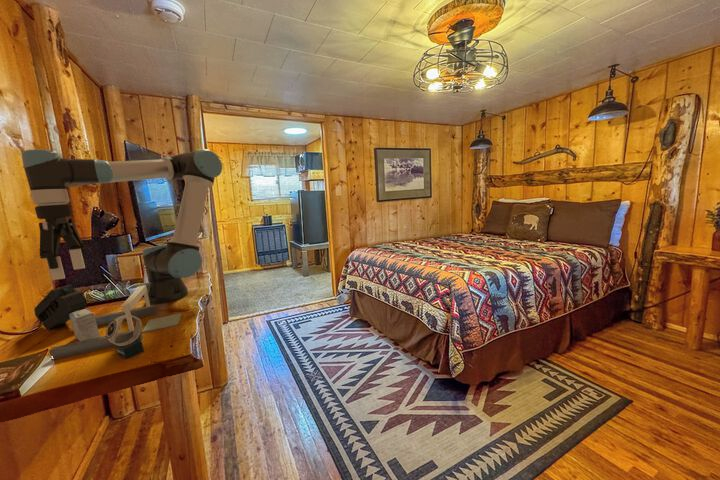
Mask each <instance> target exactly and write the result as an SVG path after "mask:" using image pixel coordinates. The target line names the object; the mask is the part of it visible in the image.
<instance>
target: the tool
mask: <svg viewBox="0 0 720 480" xmlns="http://www.w3.org/2000/svg"><path fill="white" fill-rule="evenodd" d="M46 294H47V295H45V296H44V297H43V298H42V299H41V300H40V301H39V303H38V304H37V305H36V306H35V307H34V309H33V310H34V316H35V317H36V318H37V319H38V321H39V322H40V323H42V326H43V327H44V328H45V329H46V330H47V331H48V330H51V329H54V328H56V327H58V326H59V327H60V326H62V325H63V324H66V323H68V322H69V321H71V320H70V317H69V314H70V313H73V312H76V311H80V310H83V309H87V308H86V306H87V305H88V304H89V303H88V299H87V297H85V296H84V294H83V293H82V292H81V291H77V290H76V289H75V288H74V286H73V285H72V284H66V285H64V286H60V287H56V288H53V289H50V291H49V292H48V293H46Z"/></svg>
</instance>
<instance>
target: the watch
mask: <svg viewBox="0 0 720 480" xmlns="http://www.w3.org/2000/svg"><path fill="white" fill-rule="evenodd" d="M128 317H133V318H135V319H134V320H135V322H136V323H135V326H134V333H133V337H132V338H130V339H128V340H125V341H123V342H120V343H115V342H114V341H115V340H116V337H117V336H118V335H119V333H121V331H122V325H123V324H122V323H123V322H124V321H123V319H124V318H128ZM142 328H143V324H142V320H141V319H140V318H137V317H135V316H132V315H123V316H120V317H117V318H116V319H115V320H112V321H111V322H110V323H109V324H107V328H106V330H105V336H106V338H107V339H108V340H109V341H110V342H111V343H113V344H115V346H114V349H115V353H116V356H118V357H120V358H122V359H125V360H129V359H130V358H133V357H135V356H137V355H139V354H141V353H144V352H145V351H144V350H145V349H144V346H143V341H142V340H137V338H138V337H139V335H140V333H141V330H142ZM142 331H143V330H142Z"/></svg>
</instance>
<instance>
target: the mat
mask: <svg viewBox="0 0 720 480" xmlns="http://www.w3.org/2000/svg"><path fill="white" fill-rule="evenodd" d="M182 315H183V314H182V313H176V314H175V313H174V314H171V315H167V316H162V317H156V318H151V319H148V321H147V323H146V325H145V326H144V328H143V330H142V334H143V333H147V332H151V331H156V330H161V329H165V328H170V327H174V326H178V325H179V323H180V320H181V318H182V317H181V316H182Z"/></svg>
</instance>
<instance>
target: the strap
mask: <svg viewBox="0 0 720 480" xmlns="http://www.w3.org/2000/svg"><path fill="white" fill-rule="evenodd" d="M149 289H150V288H149V282H143V283H139V285H138V287H137V288H136V289H135V290H134V292H132V294H131V295H130V296H129V297H128V298H127V299H126V300H125V301H124V302H123V303H122V304H121V306H120V307H121V309H122V310H121V311H123V312H125V315H131V313H130V310H132V309H134V307H135V306H136V305H137V303H139V301H140V300H141V298H143V297H144V298H143V299H144V301H145V307H149V306H151V303H150V302H149V297H148V292H147V291H148V290H149ZM126 319H127V320H126V323H127V328H128V331H129V332H130V331H134V330H135V326H134V322H133V319H132V317H128V318H126Z"/></svg>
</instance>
